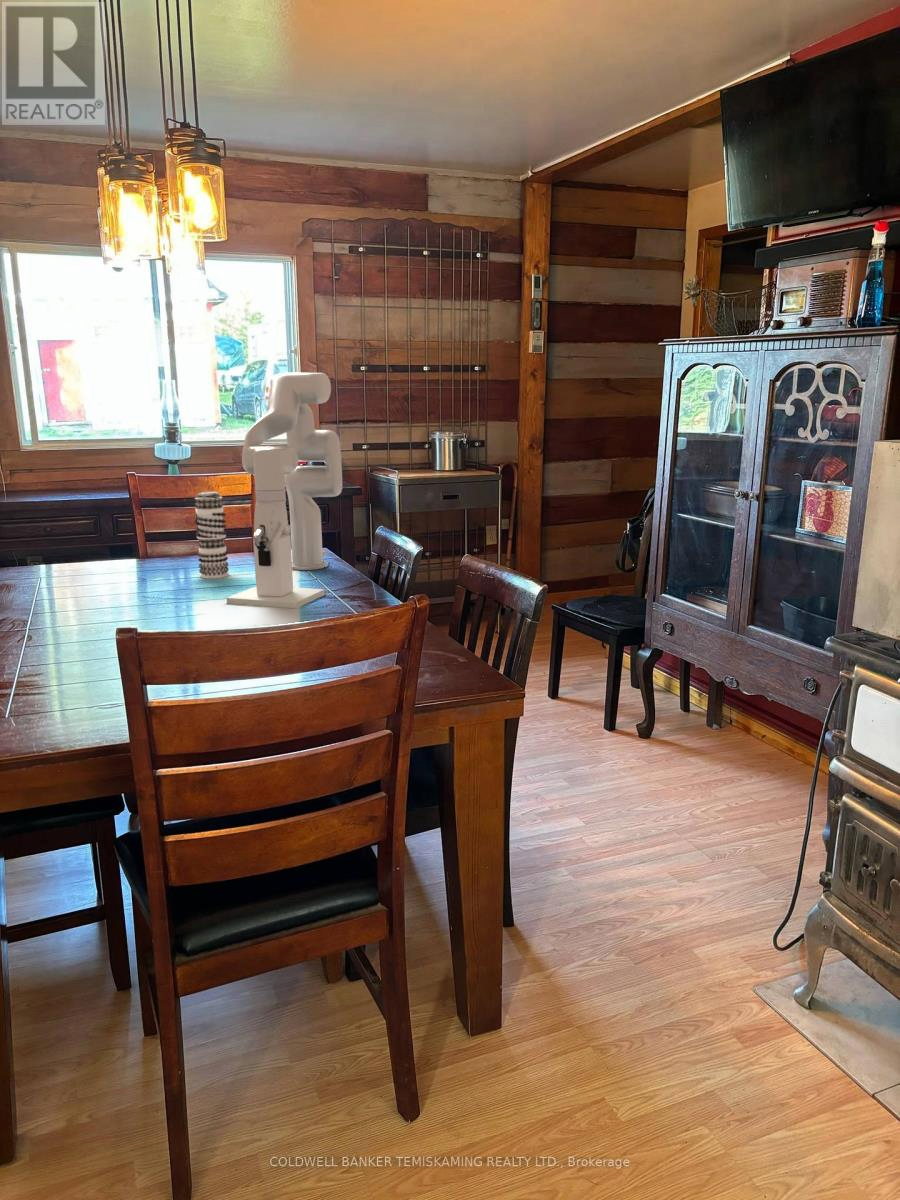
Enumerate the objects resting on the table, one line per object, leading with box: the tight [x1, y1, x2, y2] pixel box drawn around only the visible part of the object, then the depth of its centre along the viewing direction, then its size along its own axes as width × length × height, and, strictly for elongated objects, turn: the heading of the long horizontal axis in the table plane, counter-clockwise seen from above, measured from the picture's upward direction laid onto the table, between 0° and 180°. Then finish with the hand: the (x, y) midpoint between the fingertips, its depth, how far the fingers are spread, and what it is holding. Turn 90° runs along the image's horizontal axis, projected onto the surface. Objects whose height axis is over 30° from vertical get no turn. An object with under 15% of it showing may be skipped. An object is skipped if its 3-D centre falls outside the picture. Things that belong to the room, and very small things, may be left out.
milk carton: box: [252, 522, 294, 597], centre depth 213 cm, size 7×7×19 cm
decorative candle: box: [193, 491, 230, 579], centre depth 244 cm, size 9×9×25 cm
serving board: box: [226, 585, 325, 609], centre depth 216 cm, size 16×20×2 cm
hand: (274, 562), depth 214 cm, fingers open, 9 cm apart
